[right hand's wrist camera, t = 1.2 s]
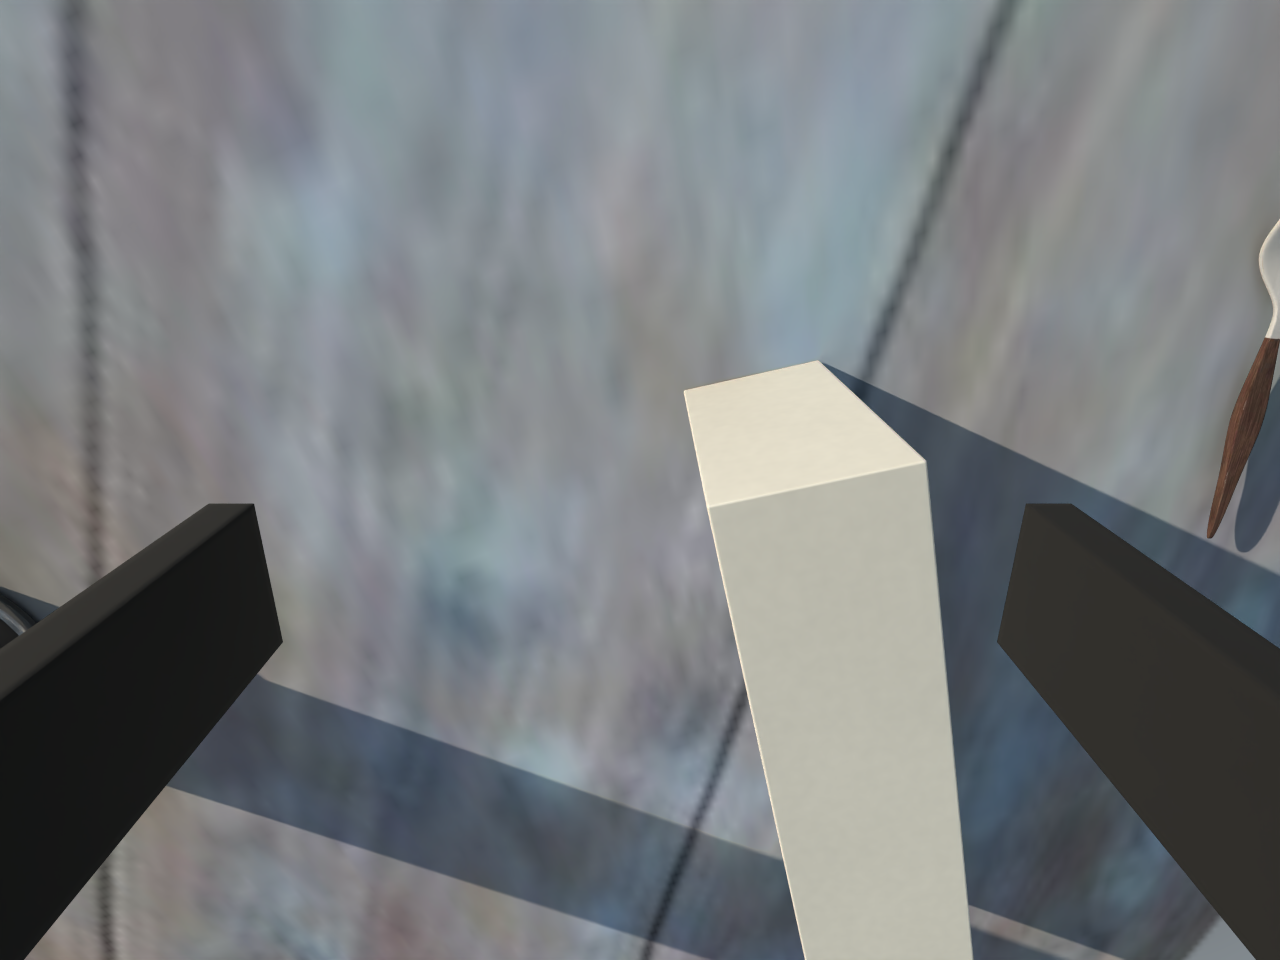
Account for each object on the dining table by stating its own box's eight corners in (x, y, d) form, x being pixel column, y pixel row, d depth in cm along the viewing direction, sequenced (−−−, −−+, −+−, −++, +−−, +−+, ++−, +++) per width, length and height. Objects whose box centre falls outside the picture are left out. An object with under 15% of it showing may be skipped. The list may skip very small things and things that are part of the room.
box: (683, 390, 31) (706, 506, 19) (818, 359, 31) (927, 460, 19) (780, 839, 41) (835, 1101, 29) (885, 822, 40) (985, 1081, 28)
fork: (1172, 533, 33) (1203, 553, 31) (1285, 156, 27) (1332, 152, 26) (1229, 533, 33) (1263, 553, 31) (1354, 156, 27) (1406, 153, 26)
